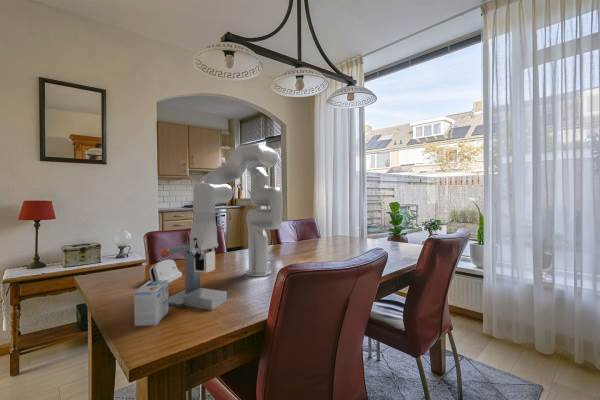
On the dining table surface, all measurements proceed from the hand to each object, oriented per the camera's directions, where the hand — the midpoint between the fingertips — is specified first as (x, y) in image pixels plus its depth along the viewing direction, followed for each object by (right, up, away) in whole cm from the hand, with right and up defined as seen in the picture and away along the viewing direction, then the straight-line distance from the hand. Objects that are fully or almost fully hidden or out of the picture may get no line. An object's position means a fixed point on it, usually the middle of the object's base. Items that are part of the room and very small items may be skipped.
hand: (204, 267), depth 108 cm
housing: (0, -1, 0) cm, 1 cm away
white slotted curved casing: (-27, -13, +29) cm, 41 cm away
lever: (-10, +4, +8) cm, 14 cm away
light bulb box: (-13, -14, -12) cm, 22 cm away
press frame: (-4, -13, +3) cm, 14 cm away
